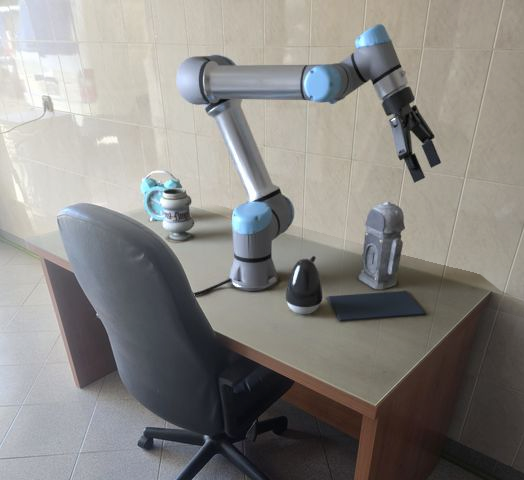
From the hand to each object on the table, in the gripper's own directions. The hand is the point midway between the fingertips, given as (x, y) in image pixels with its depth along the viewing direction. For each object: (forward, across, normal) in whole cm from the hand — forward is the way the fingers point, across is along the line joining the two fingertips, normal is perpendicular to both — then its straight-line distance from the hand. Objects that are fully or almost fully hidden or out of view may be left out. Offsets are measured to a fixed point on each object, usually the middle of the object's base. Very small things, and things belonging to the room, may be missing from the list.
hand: (428, 172), depth 122 cm
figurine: (+24, -1, +27) cm, 36 cm away
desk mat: (+26, -17, +21) cm, 38 cm away
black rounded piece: (+16, -30, +35) cm, 49 cm away
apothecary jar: (-19, -4, +95) cm, 97 cm away
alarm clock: (-29, +10, +113) cm, 117 cm away
